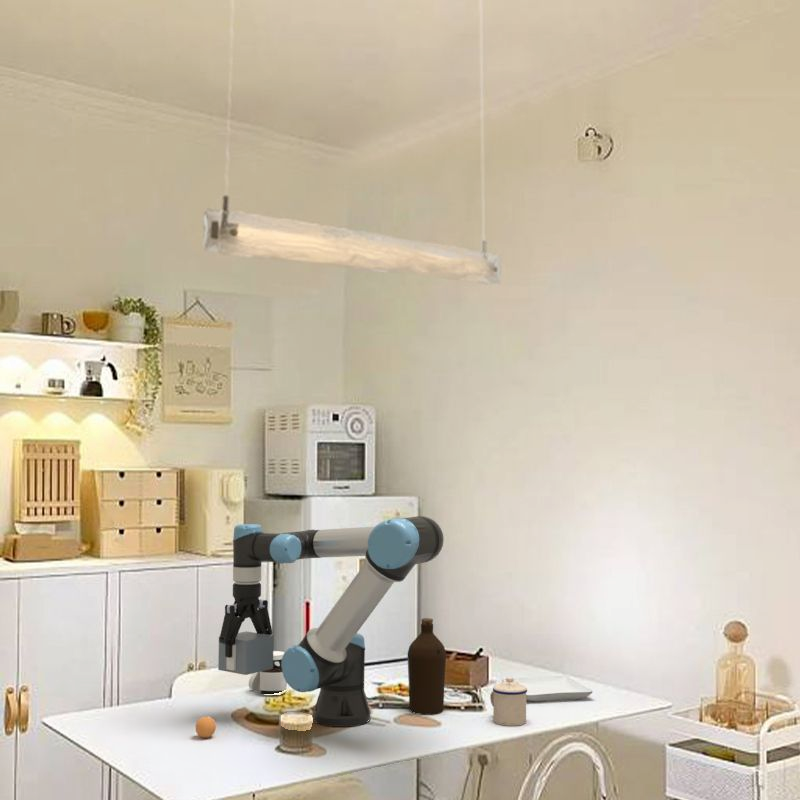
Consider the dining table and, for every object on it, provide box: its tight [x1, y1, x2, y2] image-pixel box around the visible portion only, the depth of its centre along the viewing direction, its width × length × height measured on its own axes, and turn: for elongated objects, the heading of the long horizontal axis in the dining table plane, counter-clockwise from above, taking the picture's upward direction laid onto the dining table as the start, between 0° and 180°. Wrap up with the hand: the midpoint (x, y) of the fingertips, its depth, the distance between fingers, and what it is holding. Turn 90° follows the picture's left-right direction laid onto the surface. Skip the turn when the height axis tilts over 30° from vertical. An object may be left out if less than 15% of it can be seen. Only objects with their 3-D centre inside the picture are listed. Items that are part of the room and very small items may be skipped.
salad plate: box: [501, 674, 594, 702], centre depth 314 cm, size 21×21×3 cm
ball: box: [195, 716, 217, 739], centre depth 264 cm, size 5×5×5 cm
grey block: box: [217, 631, 274, 676], centre depth 284 cm, size 10×10×9 cm
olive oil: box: [407, 617, 447, 715], centre depth 294 cm, size 11×11×25 cm
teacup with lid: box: [489, 676, 527, 727], centre depth 283 cm, size 12×9×12 cm
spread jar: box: [248, 650, 288, 695], centre depth 313 cm, size 12×11×12 cm
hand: (245, 666), depth 284 cm, fingers closed on grey block, 10 cm apart
